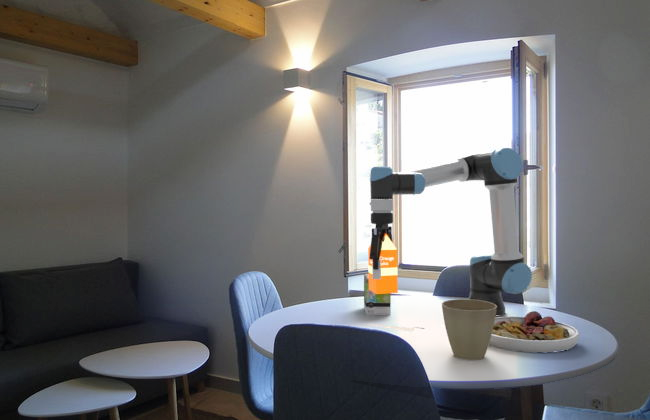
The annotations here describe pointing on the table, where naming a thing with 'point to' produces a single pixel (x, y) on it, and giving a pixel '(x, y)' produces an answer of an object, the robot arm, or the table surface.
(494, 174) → the robot arm
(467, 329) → the plant pot
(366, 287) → the tea box
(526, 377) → the table surface
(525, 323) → the plate of food
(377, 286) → the orange juice
